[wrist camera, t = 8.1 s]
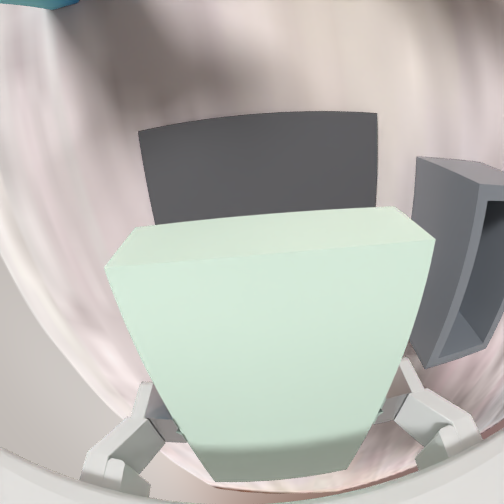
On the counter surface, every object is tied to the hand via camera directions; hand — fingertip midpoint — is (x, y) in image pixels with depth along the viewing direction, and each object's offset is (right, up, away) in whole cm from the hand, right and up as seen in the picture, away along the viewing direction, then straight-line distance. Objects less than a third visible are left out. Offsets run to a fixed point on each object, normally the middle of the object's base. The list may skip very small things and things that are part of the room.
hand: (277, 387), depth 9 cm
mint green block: (0, +1, +1) cm, 2 cm away
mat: (0, +4, +9) cm, 10 cm away
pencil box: (+13, +6, +8) cm, 16 cm away
